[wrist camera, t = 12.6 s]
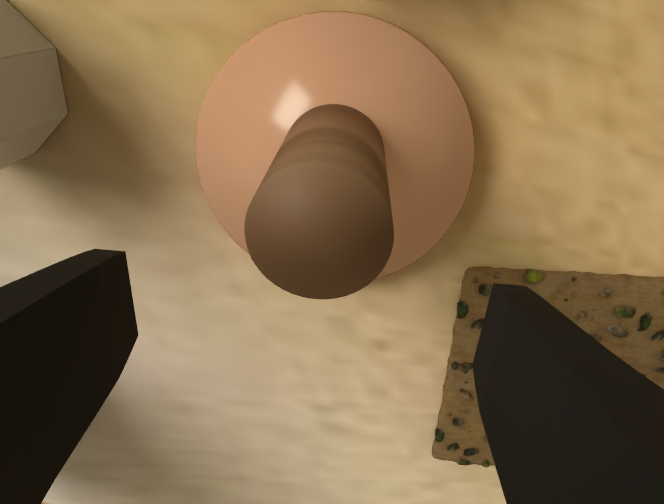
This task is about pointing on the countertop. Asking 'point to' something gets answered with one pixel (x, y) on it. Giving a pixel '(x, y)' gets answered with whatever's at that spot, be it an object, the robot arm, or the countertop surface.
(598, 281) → the brown flat square slab
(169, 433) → the countertop surface
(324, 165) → the walnut peg
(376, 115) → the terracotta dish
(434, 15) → the countertop surface
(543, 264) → the countertop surface
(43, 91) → the grey sleeve
